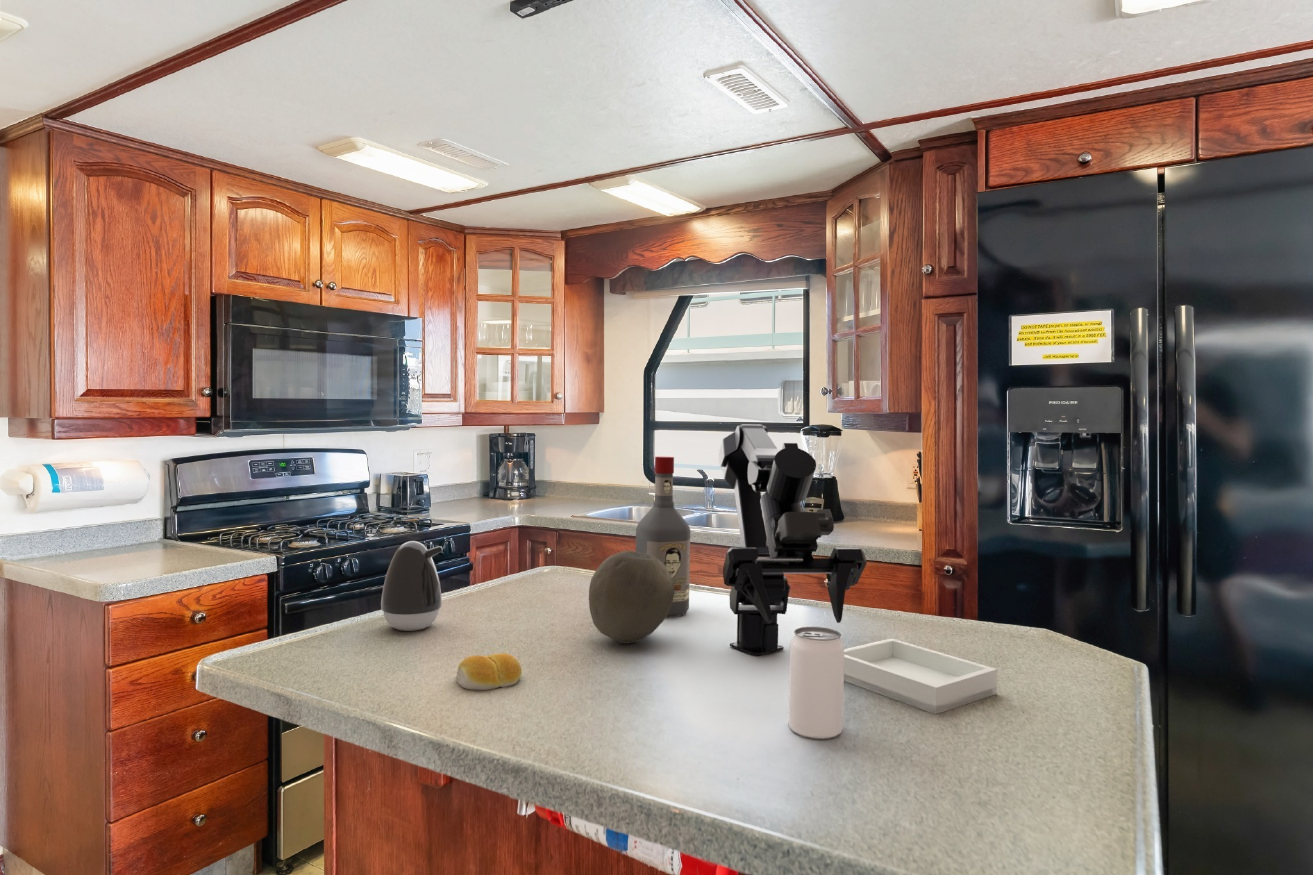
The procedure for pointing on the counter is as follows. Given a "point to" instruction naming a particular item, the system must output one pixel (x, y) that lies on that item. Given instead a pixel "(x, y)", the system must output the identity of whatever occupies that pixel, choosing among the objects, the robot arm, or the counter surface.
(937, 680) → the tray
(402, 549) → the pump dispenser
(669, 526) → the liquor
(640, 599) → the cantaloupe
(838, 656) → the can
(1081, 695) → the counter surface
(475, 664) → the bread roll
